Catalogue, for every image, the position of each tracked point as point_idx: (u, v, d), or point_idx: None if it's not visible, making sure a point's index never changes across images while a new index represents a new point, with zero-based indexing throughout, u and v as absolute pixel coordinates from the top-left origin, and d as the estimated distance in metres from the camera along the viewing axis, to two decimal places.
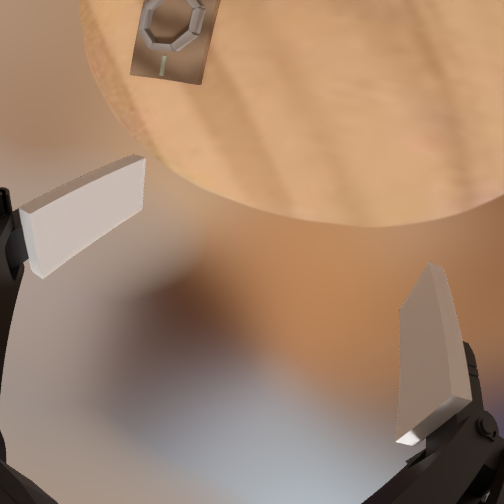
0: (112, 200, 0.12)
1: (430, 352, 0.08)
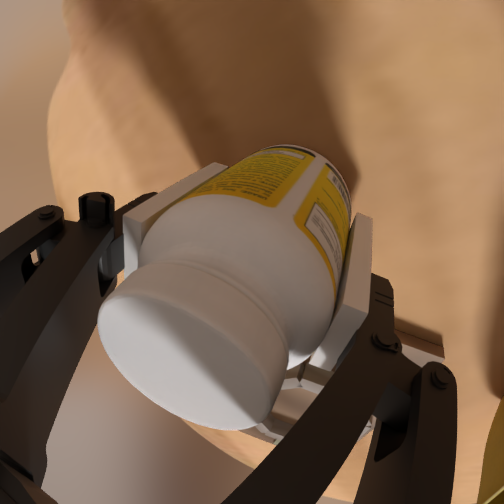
0: None
1: (340, 280, 0.10)
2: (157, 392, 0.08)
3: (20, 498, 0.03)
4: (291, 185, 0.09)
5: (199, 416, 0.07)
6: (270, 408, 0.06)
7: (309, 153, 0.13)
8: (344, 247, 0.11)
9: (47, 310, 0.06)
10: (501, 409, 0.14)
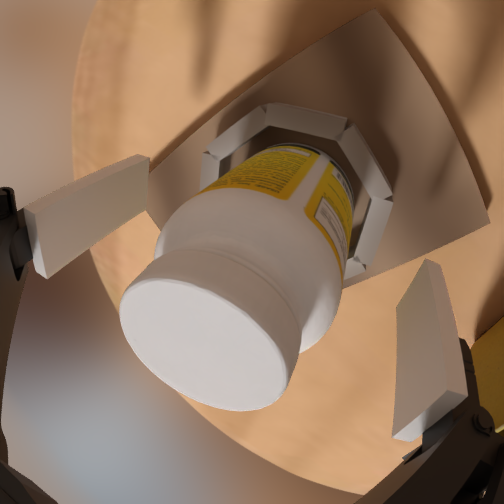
0: (116, 200, 0.12)
1: (426, 348, 0.08)
2: (175, 376, 0.08)
3: (20, 498, 0.03)
4: (300, 181, 0.10)
5: (215, 398, 0.08)
6: (285, 385, 0.07)
7: (314, 151, 0.13)
8: (349, 239, 0.11)
9: None
10: (491, 340, 0.15)
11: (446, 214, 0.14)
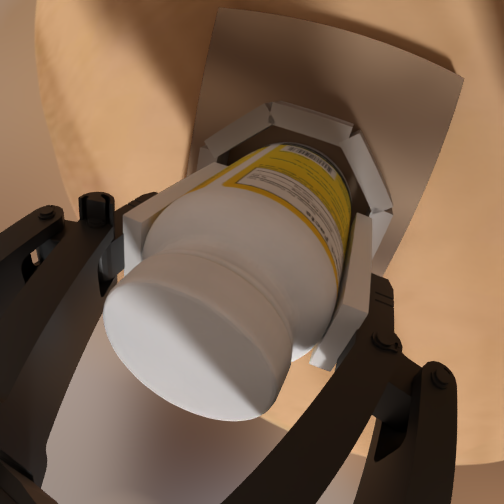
0: None
1: (340, 280, 0.10)
2: (195, 400, 0.08)
3: (20, 498, 0.03)
4: (230, 170, 0.10)
5: (237, 406, 0.07)
6: (258, 347, 0.06)
7: (264, 146, 0.14)
8: (320, 188, 0.10)
9: (47, 309, 0.06)
10: None
11: (421, 106, 0.11)
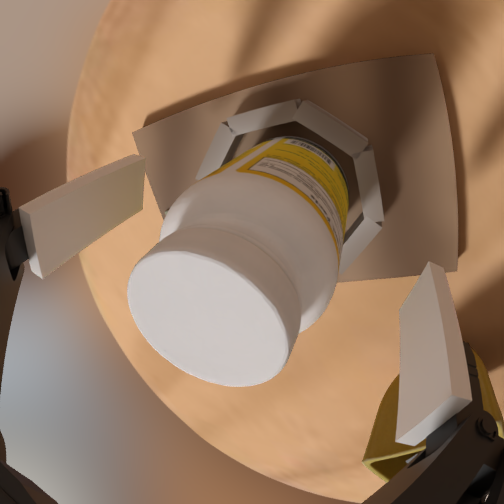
0: (112, 200, 0.12)
1: (430, 352, 0.08)
2: (211, 367, 0.09)
3: (20, 498, 0.03)
4: (240, 159, 0.11)
5: (251, 369, 0.08)
6: (275, 306, 0.07)
7: (267, 140, 0.15)
8: (321, 176, 0.11)
9: None
10: None
11: (422, 251, 0.16)
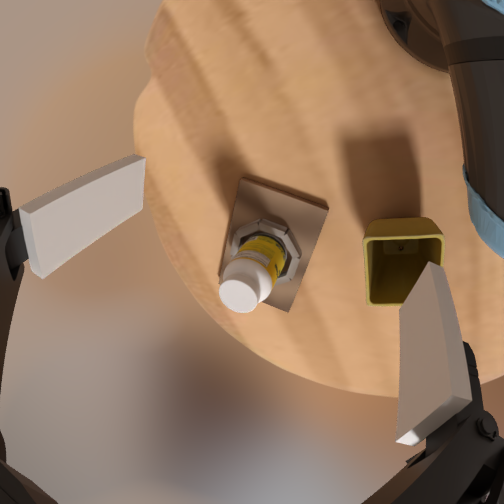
0: (112, 200, 0.12)
1: (430, 352, 0.08)
2: (248, 303, 0.35)
3: (20, 498, 0.03)
4: None
5: (250, 295, 0.35)
6: (235, 279, 0.35)
7: None
8: (247, 247, 0.40)
9: None
10: None
11: (311, 221, 0.40)
